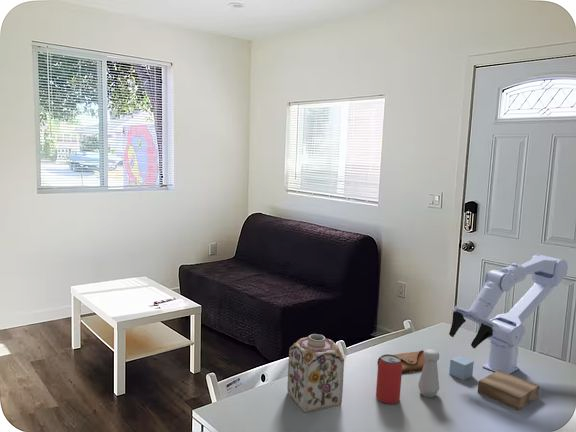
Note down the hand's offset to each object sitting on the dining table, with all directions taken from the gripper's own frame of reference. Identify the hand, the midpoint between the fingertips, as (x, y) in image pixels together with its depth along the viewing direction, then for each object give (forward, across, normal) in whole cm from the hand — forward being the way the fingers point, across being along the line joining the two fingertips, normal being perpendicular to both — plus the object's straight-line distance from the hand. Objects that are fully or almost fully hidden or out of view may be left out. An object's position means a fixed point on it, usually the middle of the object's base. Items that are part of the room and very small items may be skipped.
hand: (461, 341), depth 147 cm
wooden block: (+6, +15, +10) cm, 19 cm away
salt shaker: (+19, +2, -4) cm, 20 cm away
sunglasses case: (+15, -13, +5) cm, 21 cm away
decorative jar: (+39, -14, -26) cm, 49 cm away
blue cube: (+8, 0, +11) cm, 13 cm away
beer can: (+27, -3, -13) cm, 30 cm away
